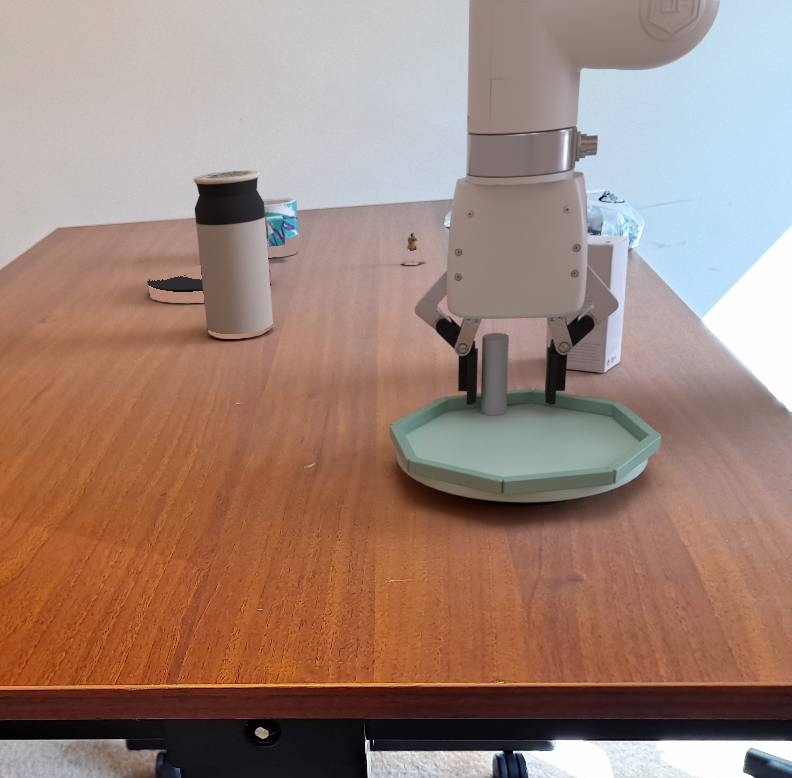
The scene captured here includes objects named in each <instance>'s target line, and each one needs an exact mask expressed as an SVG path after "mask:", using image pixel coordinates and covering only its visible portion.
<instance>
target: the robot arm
mask: <svg viewBox="0 0 792 778" xmlns="http://www.w3.org/2000/svg"><path fill="white" fill-rule="evenodd" d="M468 1H469V2H468V47H467V48H468V53H467V54H468V55H467V108H466V109H467V110H466V114H467V115H466V132H467V133H466V163H465V164H466V169H465V172H466V174H465V177H461V178H458V179H457V180H456V184H455V188H454V192H453V197H452V203H451V204H452V205H451V210H450V219H449V231H448V242H447V243H448V244H447V260H446V261H447V262H446V268H445V270H443V272H442V273H441V274H440V276H438V277H437V278H436V280H435V281H434V282H433V283H432V284H431V286H430V287H429V288H428V289H427V290H426V292H425V293H424V294H423V295H422V296H421V297H420V298H419V300H418V301H417V302H416V303H415V305H414V313H415V315H416V316H417V317H419V319H420V320H422V321H423V322H425V323H426V324H427V325H428V326H429V327H431V328H433V329H434V330H435V331H436V334H437V335H439V336H440V337H441V338H442V339H443V340H444V341H445V342H446V343H448V345H449V346H450V347H452V349H454V352H455V354H456V355H458V367H457V368H458V371H457V372H458V377H457V380H458V381H457V390H458V392H466V395H467V405H473V403H476V396H477V394H478V364H479V363H478V360H479V348H478V347H476V340H475V339H476V336H477V333H478V330H479V328H480V324H481V322H482V320H500V319H504V320H505V319H507V320H508V319H545V318H546V322H547V321H548V324H549V328H550V331H551V334H552V338H553V339H552V340H551V344H550V347H547V363H546V362H545V382H544V383H545V384H544V390H545V400H546V403H548V405H555V401H556V392H565V391H566V380H567V369H566V368H567V354H568V353H570V352H571V350H572V348H573V347H574V346H575V345H576V344H577V343H578V342H579V341H581V340H582V339H583V338H584V337H585V336H586V335H587V334H588V333H590V332H591V331H592V330H593V328H594V327H595V326H596V325H598V324H600V323H601V322H602V321H603V320H605V319H606V318H607V317H608V316H610V315H611V314H612V313H614V312H615V311H616V310H617V309H618V307H619V303H618V300H617V298H616V297H615V295H614V294H613V293H612V292H611V291H610V290H609V289H608V287H607V286H606V285H605V284H604V283H603V282H602V280H601V279H600V278H599V277H598V276H597V275H596V273H595V272H594V271H593V270H592V269H591V268H590V266H589V265H588V264H587V251H588V235H589V234H588V231H589V230H588V227H589V225H588V207H587V206H588V205H587V203H588V201H587V200H588V197H587V188H586V187H587V186H586V180H585V175H584V172H582V171H575V168H576V162H577V163H578V162H580V159H585V158H586V157H587V156H589V157H590V156H597V154H598V144H599V142H598V140H599V137H598V136H599V135H596V134H595V135H588V134H587V133H582V132H581V130H578V127H577V125H578V116H579V115H578V114H579V103H580V101H579V99H580V85H581V84H580V83H581V71H582V70H583V69H589V70H619V71H647V70H653V69H657V68H662V67H665V66H666V65H670V64H673V63H674V62H676V61H679V60H680V59H681V58H683V57H685V56H687V55H688V54H689V53H690V52H691V51H693V50H694V49H695V48H696V47H697V46H698V45H699V44H700V43H702V41H703V40H704V38H705V37H706V36H707V35H708V33H709V32H710V30H711V28H712V27H713V25H714V23H715V20H716V19H717V15H718V13H719V9H720V4H721V0H468ZM585 291H586V292H587V293H588V294H589V296H590V297H591V298H592V299H593V300H594V302H593V304H592V305H591V306H590V307H589V308H588V309H587V310H586V311H585V312H583V313H581V314H579V315H578V316H577V317H576V318H575V319H574V320H573V321H571V322H570V323H569V324H568V325H567V321H566V318H565V316H568V315H571V314H573V313H576V312H577V311H579V310H580V309H581V308H582V306H583V303H584V298H585ZM445 297H446V305H447V309H448V311H449V313H451V314H452V315H453V316H455V317H458V318H461V319H462V321H461V323H460V325H459V324H458V323H457V322H456V321H455V320H454V319H453V318H452V317H451V316H449V315H447V314H446V313H445V312H443V310H442V309H441V308H440V307H439V304H440V302H441V301H442V300H443V299H444V298H445Z"/></svg>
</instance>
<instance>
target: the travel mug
mask: <svg viewBox="0 0 792 778" xmlns="http://www.w3.org/2000/svg"><path fill="white" fill-rule="evenodd" d="M260 175H261V174H260V172H259V171H258V170H228V171H227V170H226V171H218V172H212V173H205V174H200V175H197V176H195V177H194V178H193V182H194V184H196V188H197V192H198V197H197V201H196V203H195V206H194V217H195V227H196V236H197V243H198V244H197V245H198V253H199V265H201V275H202V284H203V294H204V312H205V320H206V329H207V328H208V330H210V331H212V332H216V333H220V334H243V333H251V332H257V331H261V330H264V329H266V328H268V327H270V326H271V325H272V324H273V325H274V317H273V316H274V315H273V302H272V290H271V286H270V276H271V275H270V276H269V269H270V266H269V264H270V262H269V259H268V249H267V236H266V223H265V209H264V201H263V197H262V196H261V195H260V193H259V191H258V180H259V177H260Z"/></svg>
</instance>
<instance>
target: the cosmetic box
mask: <svg viewBox="0 0 792 778" xmlns="http://www.w3.org/2000/svg"><path fill="white" fill-rule="evenodd" d="M629 243H630V236H627V235H597V234H596V235H595V234H594V235H593V234H592V235H591V234H588V251H587V264H588V265H589V266H590V268H591V269H592V270H593V271H594V272H595V273H596V275H597V276H598V277H599V278H600V279H601V280H602V282H603V283H604V284H605V285H606V286H607V287H608V289H609V290H610V291H611V292H612V293H613V294H614V295H615V297H616V298H617V300H618V303H619V307H618V309H617V310H616V311H615V312H614V313H612V314H611V315H610V316H608V317H607V318H606V319H605V320H603V321H602V322H601V323H600V324H598V325H596V326H595V327H594V328H593V330H592V331H591V332H590V333H588V334H587V335H586V336H585V337H584V338H583V339H582V340H581V341H579V342H578V343H577V344H576V345H575V346H574V347H573V348H572V350H571V352H570V353H568V354H567V368H566V370H572V371H573V370H574V371H580V372H581V371H584V372H591V373H601V374H604V373H606V372H607V371H609V370H610V369H612V368H613V367H615V366H616V365H617V364H619V363H620V362H621V352H622V342H623V341H622V340H623V328H624V327H623V325H624V315H625V314H624V313H625V301H626V300H625V298H626V286H627V285H626V283H627V272H628V258H629V257H628V256H629V245H630V244H629ZM593 302H594V300H593V299H592V298H591V297H590V296H589V294H588V293H587V292H586V291H585V298H584V303H583V306H582V308H581V309H580V310H579V311H577V312H576V313H573V314H571V315H568V316H565V318H566V321H567V325H568V324H569V323H570V322H571V321H573V320H574V319H575V318H576V317H577V316H578V315H579V314H581V313H583V312H585V311H586V310H587V309H588V308H589V307H590V306H591V305H592V304H593ZM552 339H553V338H552V334H551V331H550V328H549V324H548V321H547V320H546V340H545V341H546V342H545V345H546V346H545V364H546V363H547V347H550V344H551V340H552Z"/></svg>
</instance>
